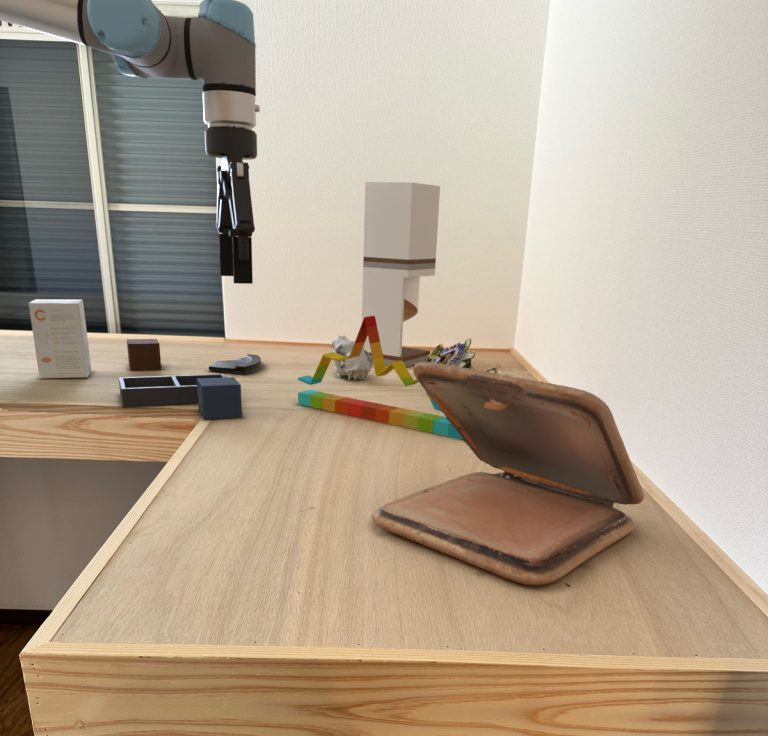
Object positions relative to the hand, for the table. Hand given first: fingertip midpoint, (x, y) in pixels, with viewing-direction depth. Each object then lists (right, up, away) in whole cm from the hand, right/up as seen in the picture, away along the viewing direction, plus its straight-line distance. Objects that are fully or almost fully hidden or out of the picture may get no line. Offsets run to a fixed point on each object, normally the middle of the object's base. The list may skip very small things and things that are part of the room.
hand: (235, 279), depth 115 cm
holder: (-10, -18, +4) cm, 21 cm away
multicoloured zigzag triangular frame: (+23, -23, -3) cm, 32 cm away
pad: (-1, -22, -5) cm, 22 cm away
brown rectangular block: (-23, -9, +26) cm, 36 cm away
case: (+36, -38, -42) cm, 67 cm away
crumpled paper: (+17, -10, +26) cm, 33 cm away
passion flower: (+36, -16, +13) cm, 42 cm away
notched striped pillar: (+26, -4, +43) cm, 51 cm away
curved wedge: (-5, -8, +29) cm, 31 cm away
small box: (-34, -12, +17) cm, 40 cm away
